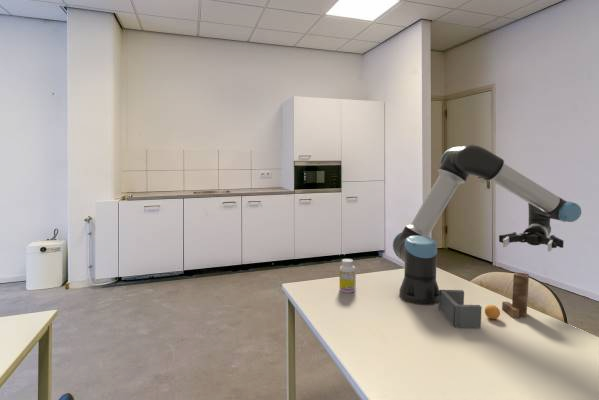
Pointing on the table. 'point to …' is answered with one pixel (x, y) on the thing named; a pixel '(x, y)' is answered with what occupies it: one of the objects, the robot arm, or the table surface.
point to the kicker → (518, 296)
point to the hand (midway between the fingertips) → (525, 245)
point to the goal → (459, 309)
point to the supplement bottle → (347, 276)
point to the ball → (492, 312)
